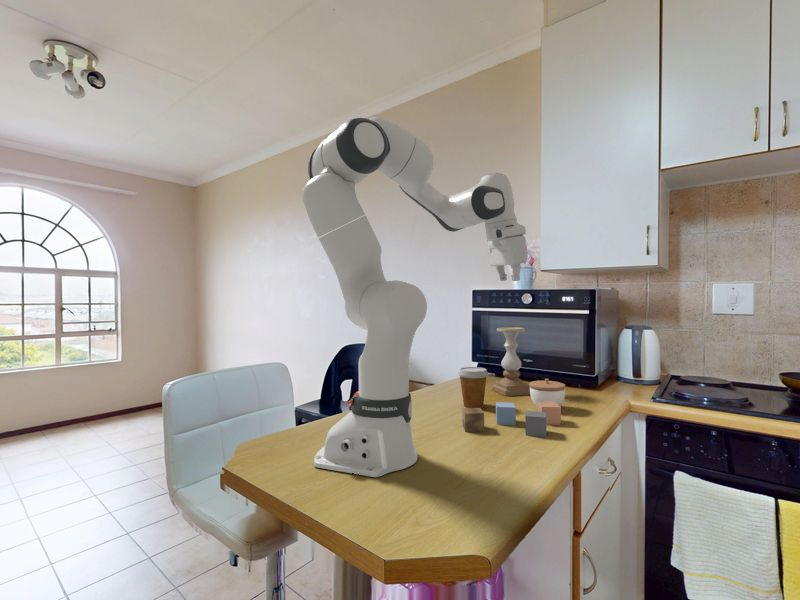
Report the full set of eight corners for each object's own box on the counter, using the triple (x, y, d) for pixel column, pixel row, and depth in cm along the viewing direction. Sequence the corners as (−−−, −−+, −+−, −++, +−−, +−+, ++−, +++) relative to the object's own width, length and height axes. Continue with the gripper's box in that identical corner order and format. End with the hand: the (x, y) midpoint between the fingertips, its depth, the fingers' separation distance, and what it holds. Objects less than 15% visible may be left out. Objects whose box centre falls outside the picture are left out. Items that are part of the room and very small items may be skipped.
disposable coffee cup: (478, 400, 133) (478, 365, 133) (494, 408, 124) (493, 370, 124) (453, 403, 130) (453, 367, 130) (467, 411, 121) (466, 372, 121)
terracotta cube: (542, 424, 107) (541, 406, 107) (537, 419, 112) (537, 402, 112) (561, 425, 107) (560, 406, 107) (555, 419, 112) (555, 402, 112)
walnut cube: (465, 432, 102) (464, 413, 102) (462, 426, 107) (462, 408, 107) (484, 432, 102) (484, 413, 102) (480, 426, 107) (480, 407, 107)
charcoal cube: (525, 435, 99) (525, 415, 99) (526, 429, 104) (525, 410, 104) (546, 437, 97) (546, 417, 97) (546, 431, 102) (545, 412, 102)
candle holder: (505, 396, 138) (504, 329, 139) (491, 389, 149) (490, 327, 149) (533, 394, 141) (532, 328, 141) (517, 387, 152) (516, 326, 152)
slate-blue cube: (497, 424, 108) (496, 406, 108) (496, 419, 113) (495, 402, 113) (515, 425, 107) (515, 407, 107) (513, 420, 112) (513, 402, 112)
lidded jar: (572, 409, 121) (572, 379, 121) (552, 415, 115) (551, 383, 115) (543, 402, 130) (542, 374, 130) (522, 407, 124) (522, 378, 124)
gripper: (480, 238, 120) (487, 282, 121) (505, 230, 100) (513, 283, 101) (499, 234, 121) (506, 278, 122) (528, 226, 101) (536, 278, 102)
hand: (509, 280), depth 111 cm, fingers open, 8 cm apart
